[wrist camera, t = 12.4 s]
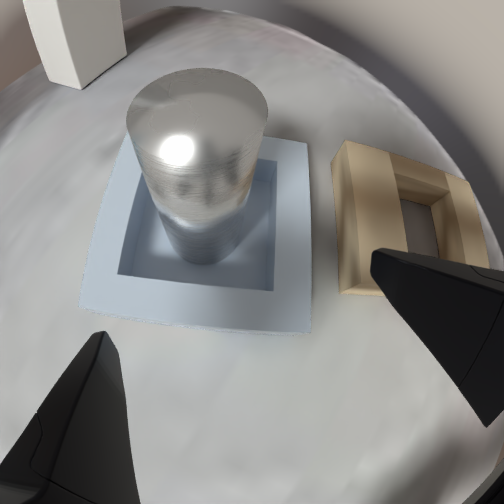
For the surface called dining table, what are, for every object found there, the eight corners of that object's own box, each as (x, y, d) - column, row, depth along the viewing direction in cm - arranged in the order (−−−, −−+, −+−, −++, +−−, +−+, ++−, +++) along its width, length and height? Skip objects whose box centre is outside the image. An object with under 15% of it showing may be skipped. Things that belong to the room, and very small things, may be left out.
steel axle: (250, 250, 17) (292, 139, 8) (181, 275, 16) (138, 182, 7) (225, 190, 18) (238, 60, 9) (160, 211, 17) (120, 87, 8)
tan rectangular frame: (469, 298, 19) (492, 290, 16) (339, 293, 18) (361, 282, 15) (450, 196, 23) (468, 182, 20) (330, 163, 21) (345, 139, 18)
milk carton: (81, 91, 21) (45, -65, 3) (49, 82, 21) (13, -45, 3) (128, 56, 23) (116, -86, 5) (91, 50, 24) (73, -70, 6)
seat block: (293, 335, 16) (310, 332, 14) (98, 314, 15) (77, 306, 12) (295, 168, 20) (306, 143, 18) (137, 152, 19) (129, 125, 16)
